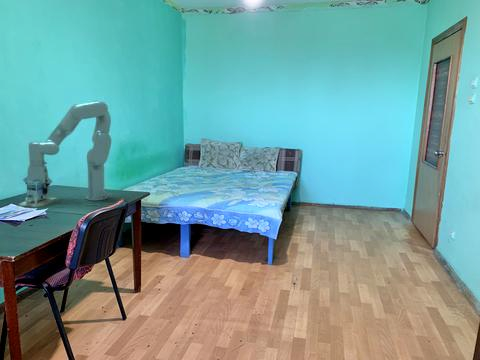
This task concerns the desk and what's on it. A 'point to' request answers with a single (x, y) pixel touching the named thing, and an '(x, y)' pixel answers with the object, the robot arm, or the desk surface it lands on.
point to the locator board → (41, 202)
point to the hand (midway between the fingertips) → (38, 193)
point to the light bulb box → (36, 190)
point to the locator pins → (28, 201)
